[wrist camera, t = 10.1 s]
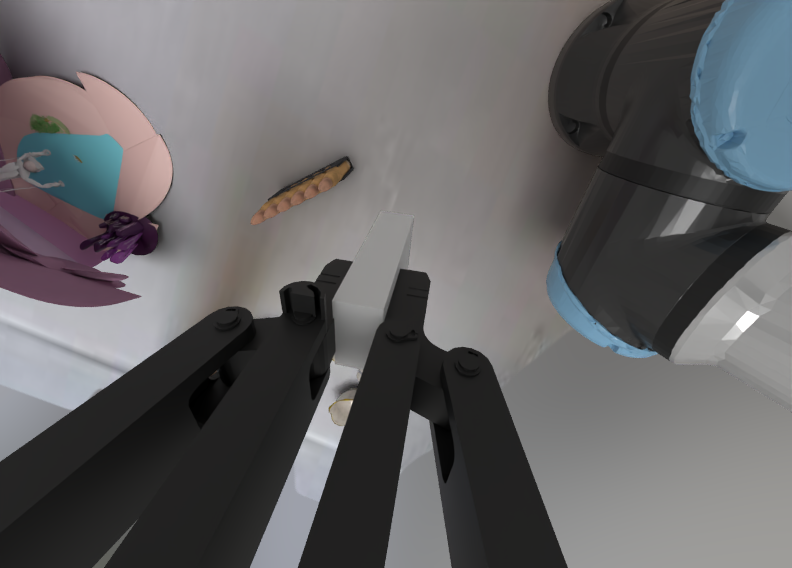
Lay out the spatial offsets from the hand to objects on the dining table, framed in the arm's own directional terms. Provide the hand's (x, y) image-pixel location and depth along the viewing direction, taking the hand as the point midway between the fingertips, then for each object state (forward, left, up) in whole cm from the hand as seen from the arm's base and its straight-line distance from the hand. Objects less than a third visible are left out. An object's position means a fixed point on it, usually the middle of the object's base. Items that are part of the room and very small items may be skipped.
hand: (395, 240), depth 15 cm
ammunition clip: (+13, +5, -31) cm, 34 cm away
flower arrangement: (+43, +3, -31) cm, 53 cm away
